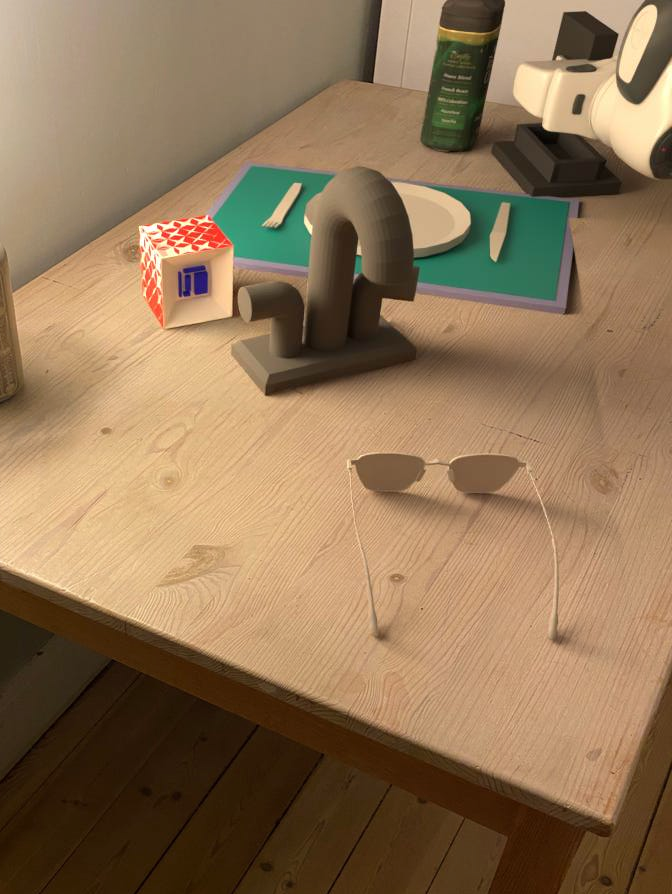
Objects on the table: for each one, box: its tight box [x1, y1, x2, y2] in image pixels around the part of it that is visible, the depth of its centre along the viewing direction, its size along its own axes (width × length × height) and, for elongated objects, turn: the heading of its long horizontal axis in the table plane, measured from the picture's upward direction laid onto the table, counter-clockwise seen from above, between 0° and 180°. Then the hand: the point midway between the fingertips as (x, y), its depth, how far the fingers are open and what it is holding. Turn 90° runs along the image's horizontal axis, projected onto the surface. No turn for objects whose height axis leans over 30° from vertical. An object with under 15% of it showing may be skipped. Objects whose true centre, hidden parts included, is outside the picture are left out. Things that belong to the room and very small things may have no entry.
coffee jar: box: [419, 0, 506, 153], centre depth 130 cm, size 10×8×19 cm
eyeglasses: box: [346, 451, 560, 641], centre depth 75 cm, size 15×18×4 cm
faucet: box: [230, 166, 420, 396], centre depth 88 cm, size 18×16×20 cm
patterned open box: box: [138, 215, 234, 330], centre depth 102 cm, size 8×8×8 cm
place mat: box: [204, 161, 580, 316], centre depth 117 cm, size 45×30×2 cm
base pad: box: [490, 122, 623, 198], centre depth 128 cm, size 16×12×4 cm
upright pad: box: [551, 10, 620, 61], centre depth 120 cm, size 10×3×10 cm, turn 6°
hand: (576, 61), depth 120 cm, fingers closed on upright pad, 3 cm apart
